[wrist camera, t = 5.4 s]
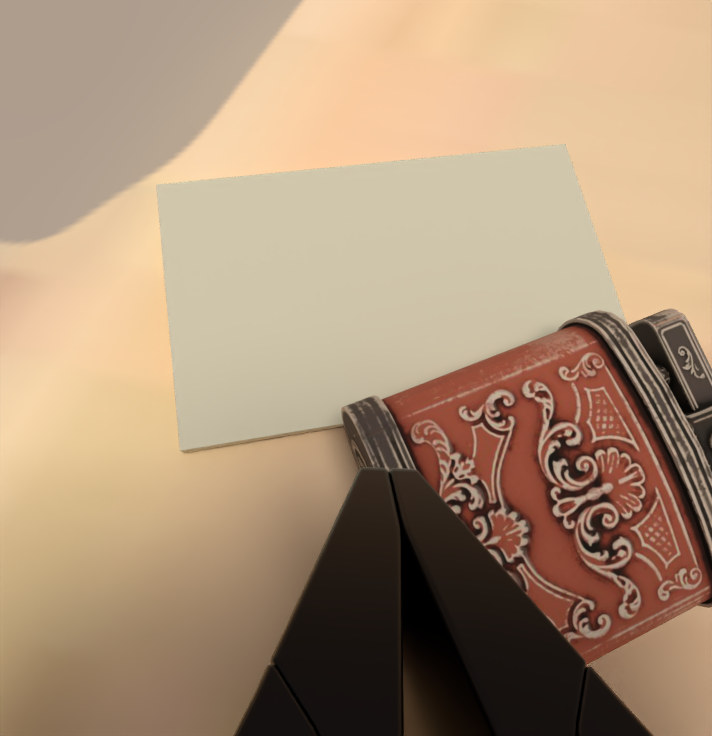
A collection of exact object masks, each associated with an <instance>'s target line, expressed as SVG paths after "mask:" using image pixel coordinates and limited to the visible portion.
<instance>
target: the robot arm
mask: <svg viewBox="0 0 712 736" xmlns="http://www.w3.org/2000/svg"><path fill="white" fill-rule="evenodd" d="M234 736H653V735H652V733H651V732H650V731H649V730H648V729H647V728H646V727H645V726H644V725H643V724H642V723H641V721H640V720H639V719H638V718H637V717H636V716H635V715H634V714H633V713H632V712H631V711H630V710H629V708H628V707H627V706H626V705H625V704H624V703H623V702H622V701H621V700H620V699H619V698H618V696H617V695H616V694H615V693H614V692H613V691H612V690H611V688H610V687H609V686H608V685H607V684H606V683H605V682H604V681H603V679H602V678H601V677H600V676H599V675H598V674H597V673H596V672H595V670H594V669H593V668H591V667H587V668H586V661H585V659H584V658H583V657H582V656H581V655H580V654H579V653H578V651H577V650H576V649H575V648H574V647H573V646H572V645H571V644H570V642H569V641H568V640H567V639H566V638H565V637H564V636H563V634H562V633H561V632H560V631H559V630H558V629H557V628H556V627H555V625H554V624H553V623H552V622H551V621H550V620H549V619H548V617H547V616H546V615H545V614H544V613H543V612H542V611H541V610H540V608H539V607H538V606H537V605H536V604H535V603H534V602H533V600H532V599H531V598H530V597H529V596H528V595H527V594H526V593H525V591H524V590H523V589H522V588H521V587H520V586H519V585H518V583H517V582H516V581H515V580H514V579H513V578H512V577H511V576H510V574H509V573H508V572H507V571H506V570H505V569H504V568H503V566H502V565H501V564H500V563H499V562H498V561H497V560H496V559H495V557H494V556H493V555H492V554H491V553H490V552H489V551H488V549H487V548H486V547H485V546H484V545H483V544H482V543H481V542H480V540H479V539H478V538H477V537H476V536H475V535H474V534H473V532H472V531H471V530H470V529H469V528H468V527H467V526H466V525H465V523H464V522H463V521H462V520H461V519H460V518H459V517H458V515H457V514H456V513H455V512H454V511H453V510H452V509H451V508H450V506H449V505H448V504H447V503H446V502H445V501H444V500H443V498H442V497H441V496H440V495H439V494H438V493H437V492H436V491H435V489H434V488H433V487H432V486H431V485H430V484H429V483H428V481H427V480H426V479H425V478H424V477H423V476H422V475H421V474H420V472H419V471H417V470H415V469H404V468H392V469H390V470H389V472H388V470H387V469H385V468H377V467H362V468H360V470H359V471H358V473H357V475H356V477H355V479H354V482H353V484H352V486H351V488H350V490H349V492H348V494H347V497H346V499H345V501H344V503H343V505H342V507H341V510H340V512H339V514H338V516H337V518H336V520H335V522H334V525H333V527H332V529H331V531H330V533H329V535H328V538H327V540H326V542H325V544H324V546H323V548H322V550H321V553H320V555H319V557H318V559H317V561H316V563H315V565H314V568H313V570H312V572H311V574H310V576H309V578H308V581H307V583H306V585H305V587H304V589H303V591H302V593H301V596H300V598H299V600H298V602H297V604H296V606H295V608H294V611H293V613H292V615H291V617H290V619H289V621H288V624H287V626H286V628H285V630H284V632H283V634H282V636H281V639H280V641H279V643H278V645H277V647H276V649H275V652H274V654H273V656H272V658H271V665H268V666H267V668H266V670H265V672H264V674H263V676H262V678H261V681H260V683H259V685H258V687H257V689H256V691H255V693H254V696H253V698H252V700H251V702H250V704H249V706H248V708H247V710H246V712H245V714H244V716H243V718H242V720H241V722H240V724H239V726H238V728H237V730H236V732H235V734H234Z"/></svg>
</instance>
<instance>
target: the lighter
mask: <svg viewBox="0 0 712 736" xmlns="http://www.w3.org/2000/svg"><path fill="white" fill-rule="evenodd" d="M341 415H342V421H343V424H344V428H345V432H346V435H347V438H348V441H349V444H350V447H351V449H352V452H353V455H354V458H355V460H356V463H357V466H358V469H359V470H360V468H362V467H377V468H385V469H387V470H388V472H389V470H390V469H392V468H404V469H415V470H417V471H419V472H420V474H421V475H422V476H423V477H424V478H425V479H426V480H427V481H428V483H429V484H430V485H431V486H432V487H433V488H434V489H435V491H436V492H437V493H438V494H439V495H440V496H441V497H442V498H443V500H444V501H445V502H446V503H447V504H448V505H449V506H450V508H451V509H452V510H453V511H454V512H455V513H456V514H457V515H458V517H459V518H460V519H461V520H462V521H463V522H464V523H465V525H466V526H467V527H468V528H469V529H470V530H471V531H472V532H473V534H474V535H475V536H476V537H477V538H478V539H479V540H480V542H481V543H482V544H483V545H484V546H485V547H486V548H487V549H488V551H489V552H490V553H491V554H492V555H493V556H494V557H495V559H496V560H497V561H498V562H499V563H500V564H501V565H502V566H503V568H504V569H505V570H506V571H507V572H508V573H509V574H510V576H511V577H512V578H513V579H514V580H515V581H516V582H517V583H518V585H519V586H520V587H521V588H522V589H523V590H524V591H525V593H526V594H527V595H528V596H529V597H530V598H531V599H532V600H533V602H534V603H535V604H536V605H537V606H538V607H539V608H540V610H541V611H542V612H543V613H544V614H545V615H546V616H547V617H548V619H549V620H550V621H551V622H552V623H553V624H554V625H555V627H556V628H557V629H558V630H559V631H560V632H561V633H562V634H563V636H564V637H565V638H566V639H567V640H568V641H569V642H570V644H571V645H572V646H573V647H574V648H575V649H576V650H577V651H578V653H579V654H580V655H581V656H582V657H583V658H584V659H585V661H586V664H588V663H590V662H592V661H594V660H596V659H598V658H599V657H601V656H603V655H605V654H607V653H609V652H611V651H613V650H614V649H616V648H618V647H620V646H622V645H624V644H626V643H628V642H629V641H631V640H633V639H635V638H637V637H639V636H641V635H642V634H644V633H646V632H648V631H650V630H652V629H654V628H656V627H657V626H659V625H661V624H663V623H665V622H667V621H669V620H671V619H672V618H674V617H676V616H678V615H680V614H682V613H684V612H686V611H687V610H689V609H691V608H693V607H695V606H703V607H708V608H709V607H712V369H711V367H710V364H709V362H708V360H707V358H706V356H705V354H704V352H703V350H702V348H701V346H700V344H699V342H698V340H697V338H696V336H695V334H694V332H693V330H692V328H691V326H690V324H689V321H688V320H687V318H686V317H685V315H684V314H682V313H679V312H678V311H677V310H674V309H667V310H664V311H661V312H659V313H656V314H654V315H651V316H648V317H646V318H643V319H641V320H638V321H636V322H633V323H631V324H630V325H627V323H626V322H625V321H624V320H623V319H621V318H619V317H618V316H616V315H615V314H613V313H611V312H606V311H601V310H597V311H593V312H589V313H586V314H583V315H581V316H578V317H576V318H573V319H570V320H568V321H566V322H565V323H563V324H562V325H561V326H560V327H559V328H558V331H557V332H554V333H552V334H549V335H546V336H544V337H541V338H539V339H536V340H534V341H531V342H528V343H526V344H523V345H521V346H518V347H515V348H513V349H510V350H508V351H505V352H503V353H500V354H497V355H495V356H492V357H490V358H487V359H485V360H482V361H479V362H477V363H474V364H472V365H469V366H466V367H464V368H461V369H459V370H456V371H454V372H451V373H448V374H446V375H443V376H441V377H438V378H435V379H433V380H430V381H428V382H425V383H423V384H420V385H417V386H415V387H412V388H410V389H407V390H405V391H402V392H399V393H397V394H394V395H392V396H389V397H386V398H384V399H380V398H379V397H378V396H374V395H373V396H370V397H368V398H365V399H362V400H360V401H357V402H355V403H352V404H349V405H347V406H344V407H342V409H341Z"/></svg>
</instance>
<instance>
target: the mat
mask: <svg viewBox="0 0 712 736" xmlns="http://www.w3.org/2000/svg"><path fill="white" fill-rule="evenodd" d="M156 188H157V199H158V210H159V222H160V233H161V244H162V255H163V266H164V277H165V289H166V300H167V311H168V322H169V333H170V344H171V355H172V367H173V378H174V389H175V400H176V411H177V422H178V434H179V445H180V451H182V452H184V453H187V452H193V451H199V450H205V449H211V448H217V447H222V446H228V445H234V444H240V443H246V442H252V441H258V440H264V439H270V438H276V437H282V436H288V435H294V434H300V433H306V432H312V431H318V430H324V429H330V428H336V427H342V426H344V424H343V421H342V415H341V409H342V407H344V406H347V405H349V404H352V403H355V402H357V401H360V400H362V399H365V398H368V397H370V396H373V395H374V396H378V397H379V398H380V399H384V398H386V397H389V396H392V395H394V394H397V393H399V392H402V391H405V390H407V389H410V388H412V387H415V386H417V385H420V384H423V383H425V382H428V381H430V380H433V379H435V378H438V377H441V376H443V375H446V374H448V373H451V372H454V371H456V370H459V369H461V368H464V367H466V366H469V365H472V364H474V363H477V362H479V361H482V360H485V359H487V358H490V357H492V356H495V355H497V354H500V353H503V352H505V351H508V350H510V349H513V348H515V347H518V346H521V345H523V344H526V343H528V342H531V341H534V340H536V339H539V338H541V337H544V336H546V335H549V334H552V333H554V332H557V331H558V328H559V327H560V326H561V325H562V324H563V323H565V322H566V321H568V320H570V319H573V318H576V317H578V316H581V315H583V314H586V313H589V312H593V311H597V310H601V311H606V312H611V313H613V314H615V315H616V316H618V317H619V318H621V319H623V320H624V321H625V322H626V319H625V316H624V314H623V311H622V308H621V305H620V302H619V299H618V296H617V293H616V290H615V287H614V284H613V281H612V278H611V276H610V273H609V270H608V267H607V264H606V261H605V258H604V255H603V252H602V249H601V246H600V243H599V240H598V238H597V235H596V232H595V229H594V226H593V223H592V220H591V217H590V214H589V211H588V208H587V205H586V203H585V200H584V197H583V194H582V191H581V188H580V185H579V182H578V179H577V176H576V173H575V170H574V167H573V165H572V162H571V159H570V156H569V153H568V150H567V147H566V144H562V145H552V146H542V147H532V148H522V149H512V150H501V151H491V152H481V153H471V154H461V155H451V156H441V157H431V158H421V159H411V160H401V161H391V162H381V163H371V164H361V165H351V166H340V167H330V168H320V169H310V170H300V171H290V172H280V173H270V174H260V175H250V176H240V177H230V178H220V179H210V180H200V181H190V182H179V183H169V184H159V185H156ZM626 323H627V322H626Z"/></svg>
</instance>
